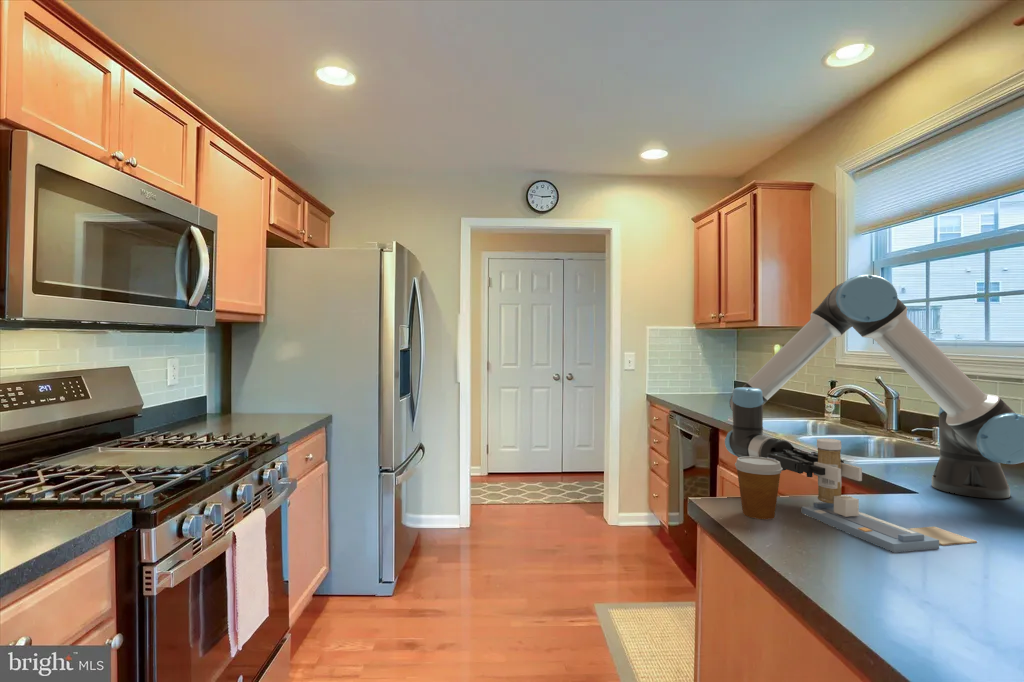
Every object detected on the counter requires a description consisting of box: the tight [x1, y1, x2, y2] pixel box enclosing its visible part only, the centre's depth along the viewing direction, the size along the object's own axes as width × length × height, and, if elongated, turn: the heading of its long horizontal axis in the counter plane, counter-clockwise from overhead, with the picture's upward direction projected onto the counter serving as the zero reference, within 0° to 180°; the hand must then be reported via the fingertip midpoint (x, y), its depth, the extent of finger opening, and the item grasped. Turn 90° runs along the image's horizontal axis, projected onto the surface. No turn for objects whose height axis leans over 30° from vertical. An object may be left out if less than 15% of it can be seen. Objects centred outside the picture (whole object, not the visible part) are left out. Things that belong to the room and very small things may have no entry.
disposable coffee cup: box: [734, 456, 784, 520], centre depth 112 cm, size 10×10×12 cm
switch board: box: [800, 501, 940, 553], centre depth 103 cm, size 10×22×2 cm, turn 11°
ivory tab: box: [834, 495, 860, 517], centre depth 107 cm, size 3×3×4 cm
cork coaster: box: [908, 526, 978, 546], centre depth 99 cm, size 8×8×1 cm
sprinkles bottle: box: [816, 437, 842, 504], centre depth 111 cm, size 5×5×14 cm
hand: (849, 474), depth 106 cm, fingers closed on sprinkles bottle, 4 cm apart
